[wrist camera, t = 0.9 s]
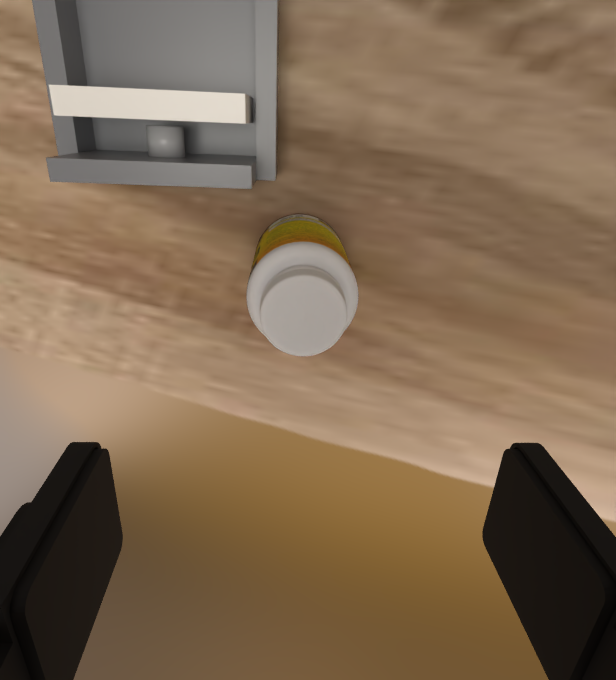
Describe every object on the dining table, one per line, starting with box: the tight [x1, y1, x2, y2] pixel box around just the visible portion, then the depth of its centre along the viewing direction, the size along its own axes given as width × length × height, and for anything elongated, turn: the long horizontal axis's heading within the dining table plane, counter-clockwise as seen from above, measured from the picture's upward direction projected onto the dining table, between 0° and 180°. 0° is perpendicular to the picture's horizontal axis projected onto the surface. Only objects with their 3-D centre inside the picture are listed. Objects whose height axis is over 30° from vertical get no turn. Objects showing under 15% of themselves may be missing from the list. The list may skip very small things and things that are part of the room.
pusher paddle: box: [49, 85, 253, 124], centre depth 23 cm, size 8×1×5 cm, turn 88°
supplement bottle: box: [247, 214, 358, 356], centre depth 26 cm, size 6×6×10 cm
